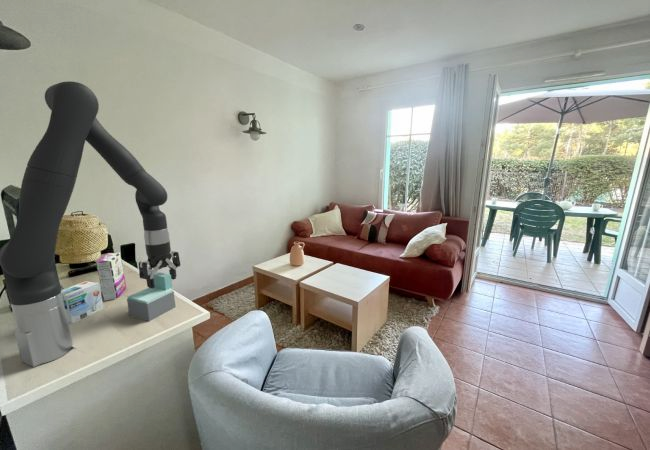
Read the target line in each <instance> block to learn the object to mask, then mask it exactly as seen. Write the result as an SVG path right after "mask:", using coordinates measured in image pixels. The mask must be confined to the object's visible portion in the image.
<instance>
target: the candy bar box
mask: <svg viewBox="0 0 650 450" xmlns="http://www.w3.org/2000/svg"><path fill="white" fill-rule="evenodd" d="M95 263H96V265H95V266H96V269H97V274H98V279H99V285H100V291H101V296H102V301H104V302H105V301H106V302H107V301H113V300H117V299H118V298H120V296H122V294H123V293H124V291H125V290H126V289H127V284H126V278H125V274H124V273H125V272H124V267H123V262H122V255H121V252H112V253H110V252H109V253H106V254H105V255H103V256H102V257H101V258H100V259H98V260H97V261H96V262H95Z"/></svg>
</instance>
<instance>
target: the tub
mask: <svg viewBox="0 0 650 450" xmlns="http://www.w3.org/2000/svg"><path fill="white" fill-rule="evenodd" d="M126 302H127V307H128V308H127V309H128V313H129V316H130V317H132V318H137V319H140V320H144V321H146V322H147V321H148V322H151V321H153V320H155V319H156V318H159V317H160V316H162V315H164V314H166V313H168V312H170V311H171V310H173V309H175V308H176V301H175V292H174V291H173V292H171V293H169V294H167V295H165V296H163V297H161V298H159V299H157V300H154V301H152V302H150V303H148V304H146V303H142V302H138V301H134V300H130V299H128V298H126Z"/></svg>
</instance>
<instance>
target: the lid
mask: <svg viewBox="0 0 650 450" xmlns="http://www.w3.org/2000/svg"><path fill="white" fill-rule="evenodd" d="M153 278H154V284H155V288H153V289H152V288H149V287H147V288H145V289H143V290H140V291H138V292H135V293H133V294H130V295H128V296H127V299H130V300H134V301H138V302H142V303H146V304H148V303H150V302H152V301H154V300H157V299H159V298H161V297H163V296H165V295H167V294H169V293H171V292H174V290H173V289H172V288H173V281H172V280H173V279H171V275H170V273H164V272H157V273H155V275H154V277H153Z"/></svg>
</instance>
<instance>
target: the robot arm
mask: <svg viewBox="0 0 650 450" xmlns="http://www.w3.org/2000/svg"><path fill="white" fill-rule="evenodd" d="M44 101H45V104H46V106H47V108H49V110H51V111H50V112H51V113H50V117H49V118H50V119H49V122H48V126H47V128H46V131H45V133H44V135H43V136H42V137H41V139H40V141H39V142H38V143H37V145H36V147H35V148H34V149H33V152H32V153H31V155H30V156H29V157H30V158H29V159H28V162H27V164H26V167H25V171H24V174H23V176H22V177H23V178H22V181H21V186H20V190H19V191H20V193H19V200H18V201H19V202H18V216H17V222H16V223H15V224H16V225H15V228H14V230H13V232H12V234H11V236H10V239H9V241H8V242H6V243H5V244H4V245H3V246H2V247H1V248H0V266H1V267H0V268H1V270H2V274H3V277H4V282H5V287H6V291H7V296H8V298H9V302H10V306H11V310H12V314H13V317H14V322H15V325H16V328H15V329H13V333H14V337H15V340H16V345H17V348H18V352H19V356H20V360H21V362H23V363H24V364H27V365H29V366H30V367H32V368H36V367H37V366H39V365H43V364H46V363H49V362H52V361H54V360H57V359H59V358H62V357H63V356H65V355H66V354H68V353H69V352H70V351H71V350H72V349H73V338H72V333H71V331H70V326H69V325H70V324H68V320H67V316H66V311H65V306H64V302H63V297H62V292H61V290H62V289H61V283H60V280H59V277H58V273H57V270H56V266H55V257H56V247H57V246H56V245H57V241H58V233H59V229H60V226H61V222H62V219H63V217H64V215H65V213H66V211H67V208H68V207H69V206H68V205H69V202H70V201H71V197H72V194H73V192H74V189H75V185H76V182H77V178H78V173H79V169H80V166H81V161H82V157H83V152H84V147H85V143H88V144H89V145H90V146H91V147H92V148H93V149H94V150H95V151H96V152H97V153H98V154H99V155H100V156H101V158H102V159H103V160H104V161H105V162H106V163H107V164H108V165H109V166H110V168H111V169H113V171H114V172H115V173H116V174H117V176H119V178H120V179H121V180H122V181H123V182H124V183H126V184H127V185H129V186H132V188H135V189H136V190H135V193H134V194H135V195H134V196H135V197H134V198H135V203H136V207H137V208H138V211H139V213H140V215H141V217H142V226H143V234H144V235H143V239H144V244H145V246H144V247H145V252H146V257H147V260H146V261H139V262H138V273H139V278H140V279H143V280H146V285H147V288H152V289H153V288H155V284H154V278H153V277H154V275H155V274H157V273H158V271H159V270H161V269H163V268H168V272H169V273H168V274H169V275H171V280H173V281H174V280H176V279H177V269H178V267H181V260H180V255H179V252H178V251H172V249H171V240H170V232H169V230H168V222H167V216H166V214H165V213H164V212H163V211H161V210H160V209H161V208H160V206H163V205H165V203H166V202H167V200H168V193H167V191H166V189H165V187H164V186H163V185H162V183H160V182H159V181H158V180H157V179H155V178H154V177H153V176H152V175H151V174H150V173H148V171H146V169H145V168H144V167H143V165H141V163H140V162H139V160H137V158H136V157H135V156H134V154H133V153H131V152H130V151H129V150H128V149H127V148H126V147H125V146H124V145H123V144H122V143H120V142H119V141H118V140H117V139H116V138H115V137H114V136H113V135H112V134H110V132H108V130H107V129H105V128H104V126H103V125H102V124H101V123H100V121H99V120H98V118H97V115H98V113H99V109H100V108H99V100H98V98H97V96H96V95H95V93H94V91H93V90H92V89H91V88H90V87H88V86H87V85H86V84H83V83H82V82H81V83H80V82H77V81H73V80H72V81H71V80H70V81H69V80H68V81H62V82H61V81H60V82H58V83H56V84H53V85H51V86H49V87H48V88H46V90H45V92H44ZM171 260H172V261H171Z"/></svg>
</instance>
